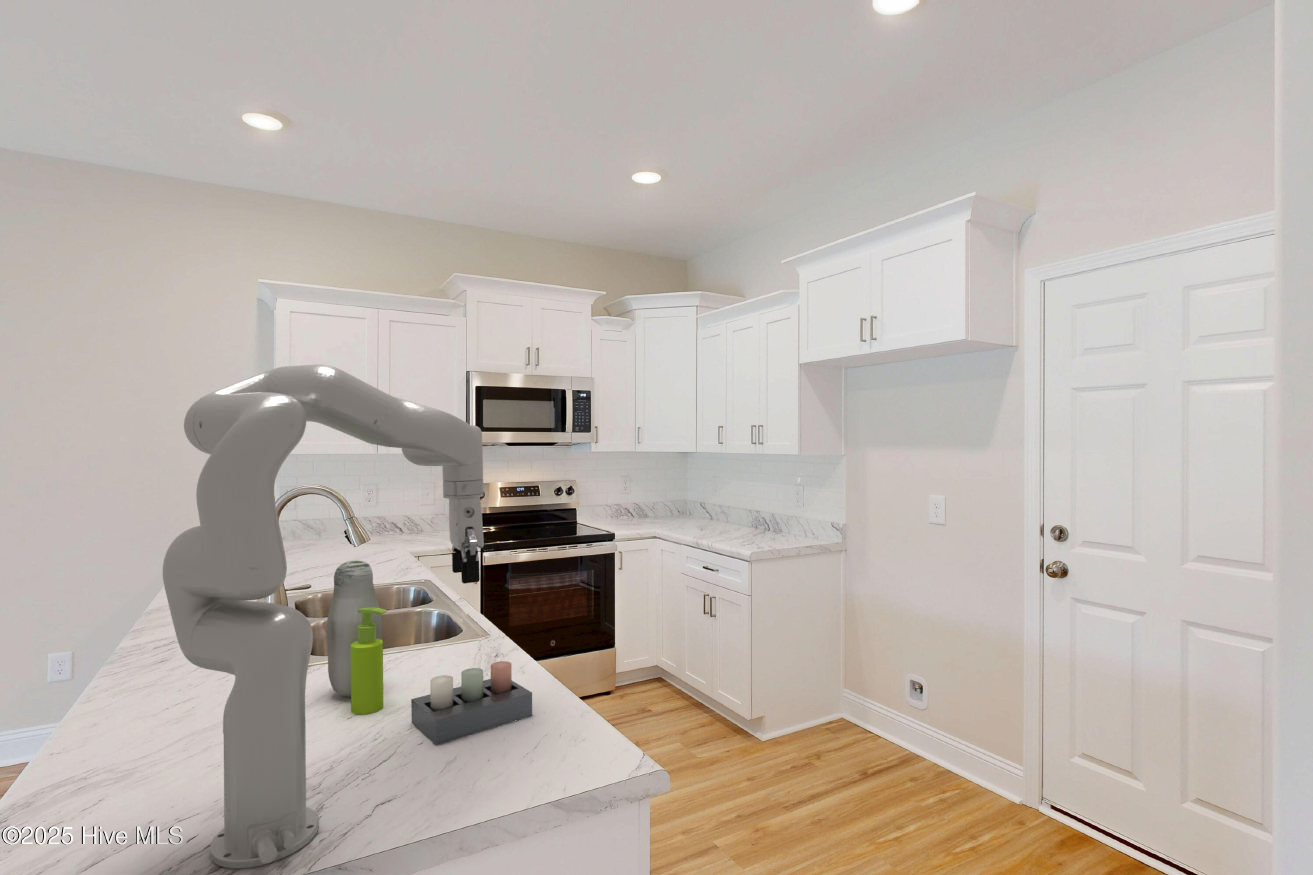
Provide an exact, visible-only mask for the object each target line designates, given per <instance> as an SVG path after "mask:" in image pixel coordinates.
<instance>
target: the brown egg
mask: <svg viewBox="0 0 1313 875" xmlns="http://www.w3.org/2000/svg"><path fill="white" fill-rule="evenodd" d="M512 674H513V673H512V662H510V661H507V660H506V661H505V660H504V661H503V660H502V661H501V660H500V661H495V662H492V663H491V664H490V679H491V692H492V693H494V694H501V693H504V692H508V691H511V690H512V681H513V680H512Z"/></svg>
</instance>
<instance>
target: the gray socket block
mask: <svg viewBox="0 0 1313 875" xmlns="http://www.w3.org/2000/svg"><path fill="white" fill-rule="evenodd" d="M410 703H411V704H410V706H411V710H410V712H411V717H410V718H411V724H412V725H413V726H414V727H415V728H416V729H418V731H419V732H420V733H422V734H423V735H424V736H425V737H426V738H428V740H429V741H431V742H432V743H433V744H434V745H435V746H438V745H442V744H444V743H445V744H446V743H448V742H451V741H455V740H458V739H461V738H465V737H467V736H471V735H474V734H477V733H480V732H484V731H488V730H490V729H493V728H497V727H500V726H503V724H504V725H506V724H509V723H513V721H514V722H516V721H515V720H517V721H520V720H522V719H521V718H523V719H525V718H524V717H527V718H529V717H528V716H530V717H532V716H533V692H532V691H530V690H529V689H527V688H525V687H524V686H522V685H520V684H518V683H517V682H515V681H513V680H512V690H511V691H508V692H504V693H501V694H494V693H492V692H491V678H489V679H483V698H482V699H479V700H475V701H472V702H465V701H462V691H461V686H458V687H453V706H452V707H450V708H446V709H443V710H439V711H436V710H432V709H431V708H430V694H427V695H426V694H425V695H422V696H418V697H415V698H411V701H410ZM531 715H532V716H531ZM519 719H520V720H519Z"/></svg>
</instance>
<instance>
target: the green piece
mask: <svg viewBox="0 0 1313 875" xmlns="http://www.w3.org/2000/svg"><path fill="white" fill-rule="evenodd" d="M460 676H461V682H460V683H461V684H460V685H461V686H460V687H461V691H462V701H465V702H472V701H475V700H479V699H482V698H483V681H484V670H483V669H482V668H478V667H472V668H471V667H470V668H466V669H464V670H462V671H461V675H460Z"/></svg>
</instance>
